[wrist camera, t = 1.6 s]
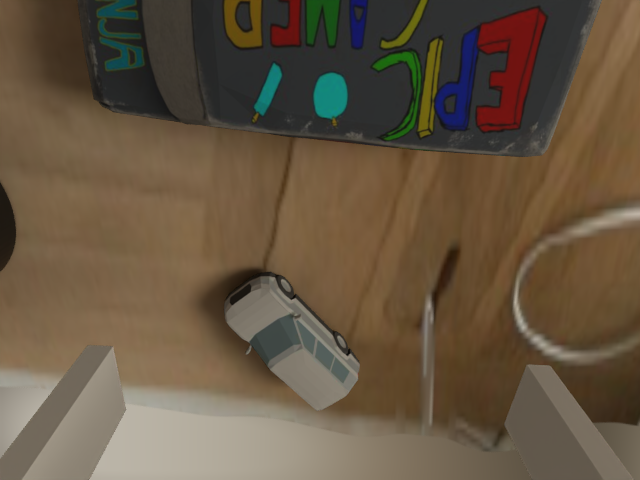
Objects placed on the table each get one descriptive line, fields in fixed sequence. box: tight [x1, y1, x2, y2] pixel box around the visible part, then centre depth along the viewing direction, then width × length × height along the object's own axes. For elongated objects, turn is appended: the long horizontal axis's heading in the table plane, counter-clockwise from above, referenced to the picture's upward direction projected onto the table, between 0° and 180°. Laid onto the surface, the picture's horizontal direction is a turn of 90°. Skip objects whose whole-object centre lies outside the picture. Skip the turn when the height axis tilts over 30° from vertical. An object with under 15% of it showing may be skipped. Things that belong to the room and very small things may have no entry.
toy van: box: [78, 0, 602, 157], centre depth 21 cm, size 11×25×10 cm, turn 84°
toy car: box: [224, 272, 360, 411], centre depth 33 cm, size 6×13×5 cm, turn 39°
